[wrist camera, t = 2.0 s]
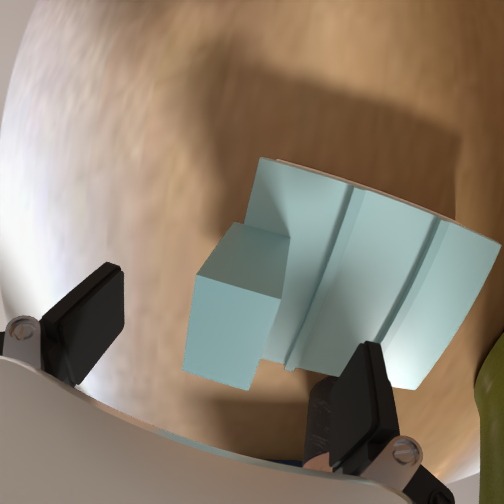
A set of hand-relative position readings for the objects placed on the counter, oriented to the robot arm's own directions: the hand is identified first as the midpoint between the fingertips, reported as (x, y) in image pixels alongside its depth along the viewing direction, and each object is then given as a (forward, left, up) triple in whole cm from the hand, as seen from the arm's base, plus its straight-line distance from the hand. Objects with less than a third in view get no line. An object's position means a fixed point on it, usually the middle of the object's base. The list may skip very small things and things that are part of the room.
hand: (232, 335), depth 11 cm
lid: (0, -6, -7) cm, 9 cm away
